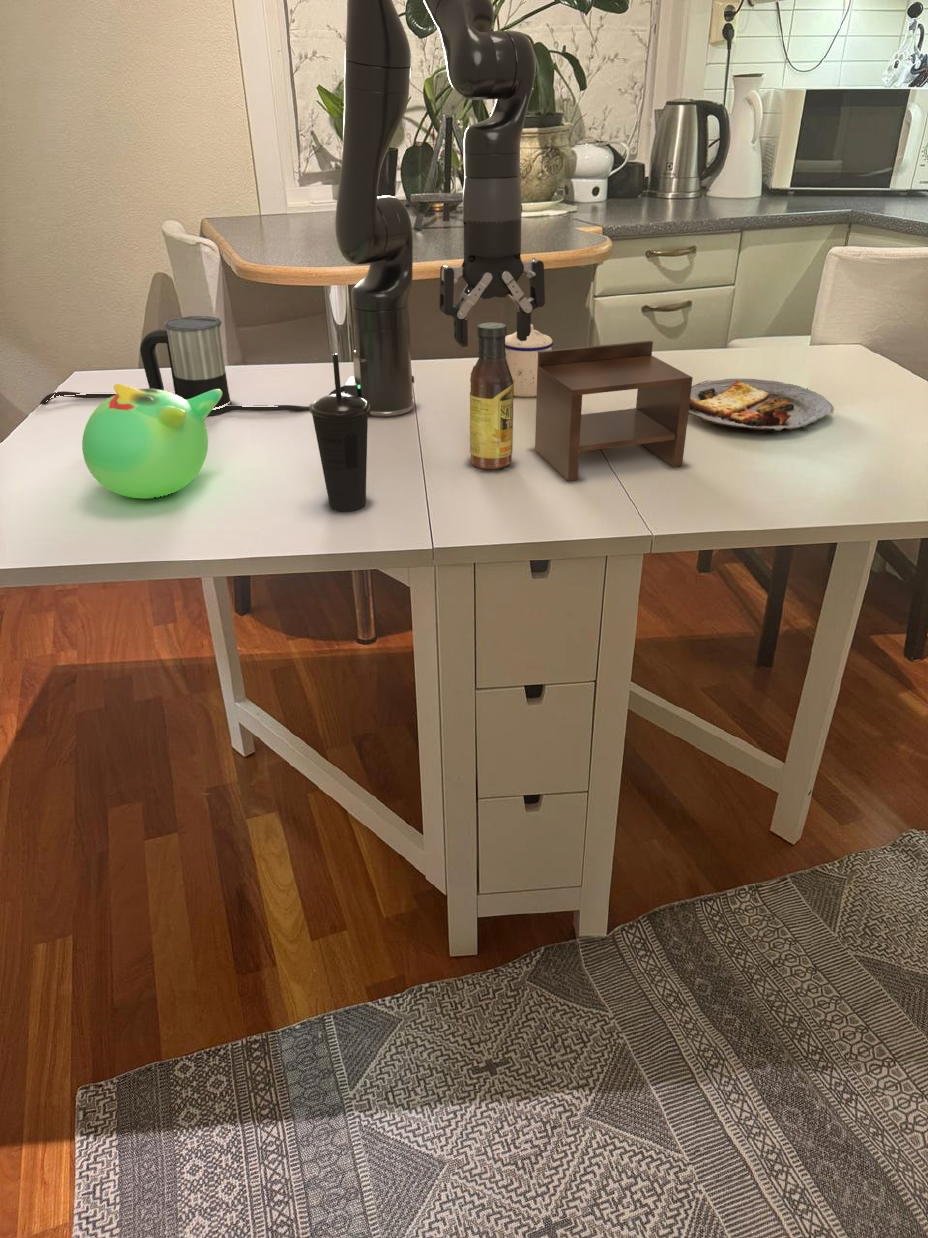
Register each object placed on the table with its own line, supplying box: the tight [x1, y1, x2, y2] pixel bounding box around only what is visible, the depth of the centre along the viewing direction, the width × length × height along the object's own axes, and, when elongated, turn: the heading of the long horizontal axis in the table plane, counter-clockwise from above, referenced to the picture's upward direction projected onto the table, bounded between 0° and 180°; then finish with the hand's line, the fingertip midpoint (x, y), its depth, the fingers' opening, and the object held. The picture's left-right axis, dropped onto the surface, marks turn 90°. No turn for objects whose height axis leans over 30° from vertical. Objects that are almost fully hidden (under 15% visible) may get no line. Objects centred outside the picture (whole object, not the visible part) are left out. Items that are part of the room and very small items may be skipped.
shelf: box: [534, 340, 694, 482], centre depth 132 cm, size 18×13×15 cm
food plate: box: [688, 377, 835, 432], centre depth 151 cm, size 25×23×4 cm
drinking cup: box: [308, 353, 370, 513], centre depth 117 cm, size 8×8×20 cm
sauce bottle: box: [469, 322, 514, 470], centre depth 129 cm, size 6×6×20 cm
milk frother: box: [139, 315, 233, 417], centre depth 151 cm, size 14×16×15 cm
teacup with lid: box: [505, 323, 554, 398], centre depth 162 cm, size 12×9×12 cm
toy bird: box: [81, 383, 222, 499], centre depth 123 cm, size 18×17×15 cm
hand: (492, 342), depth 125 cm, fingers open, 8 cm apart
